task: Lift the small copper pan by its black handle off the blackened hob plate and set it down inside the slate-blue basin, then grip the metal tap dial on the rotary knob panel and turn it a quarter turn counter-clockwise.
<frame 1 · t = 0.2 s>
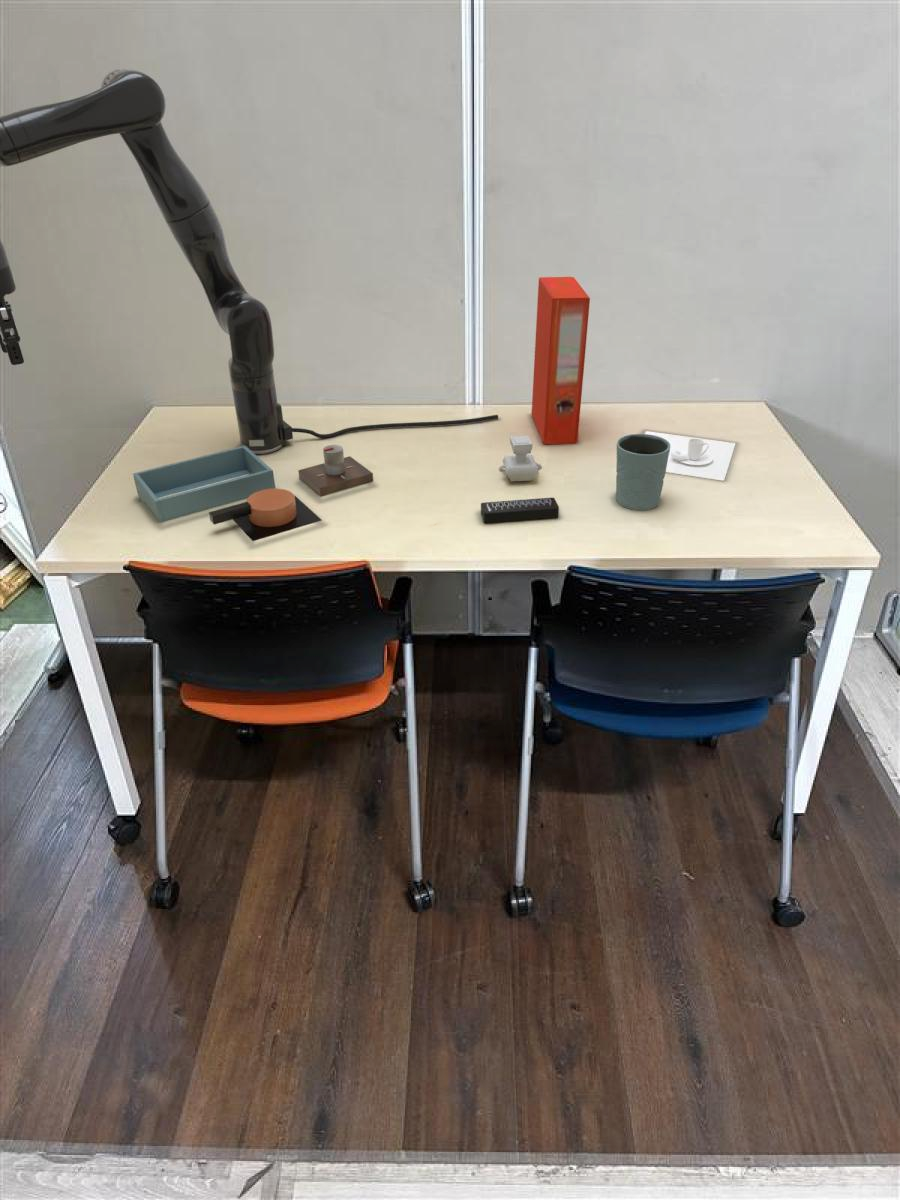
hand: (13, 357, 157), 29 cm above the table, tool pointing down, fingers open, 8 cm apart
pan: (273, 515, 164), point 1 cm above the table, touching hob
teacup and saucer: (682, 455, 187), on the table
green cup: (636, 500, 170), on the table
basin: (207, 497, 173), on the table
tap dial: (334, 459, 174), point 6 cm above the table, hinge at 0.0°
multiport hub: (519, 516, 165), on the table
file binder: (554, 429, 200), on the table
hob: (273, 521, 165), on the table
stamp: (520, 478, 179), on the table
rotary knob panel: (336, 484, 177), on the table
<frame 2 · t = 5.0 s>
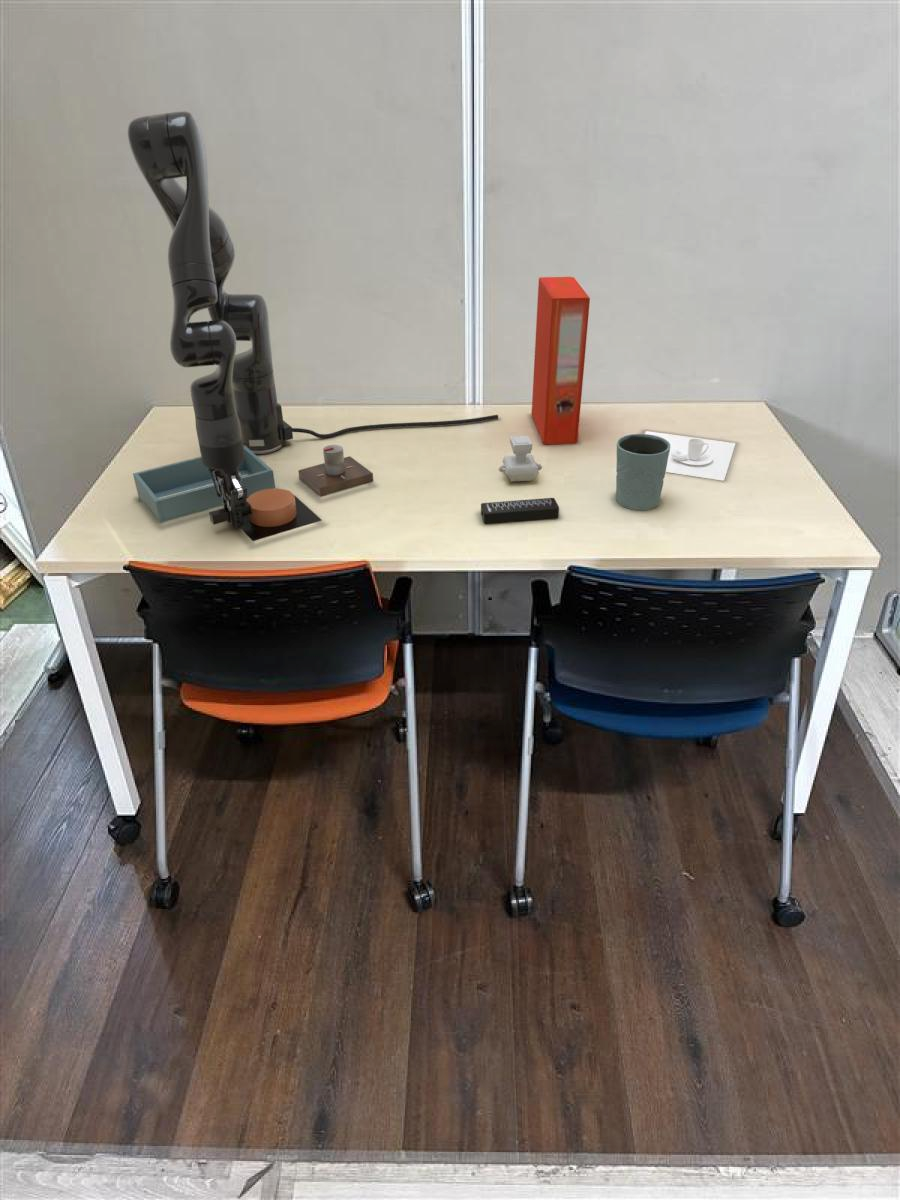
hand: (235, 523, 160), 2 cm above the table, tool pointing down, fingers closed on pan, 2 cm apart
pan: (272, 515, 164), point 1 cm above the table, touching gripper, hob
everything else where it was.
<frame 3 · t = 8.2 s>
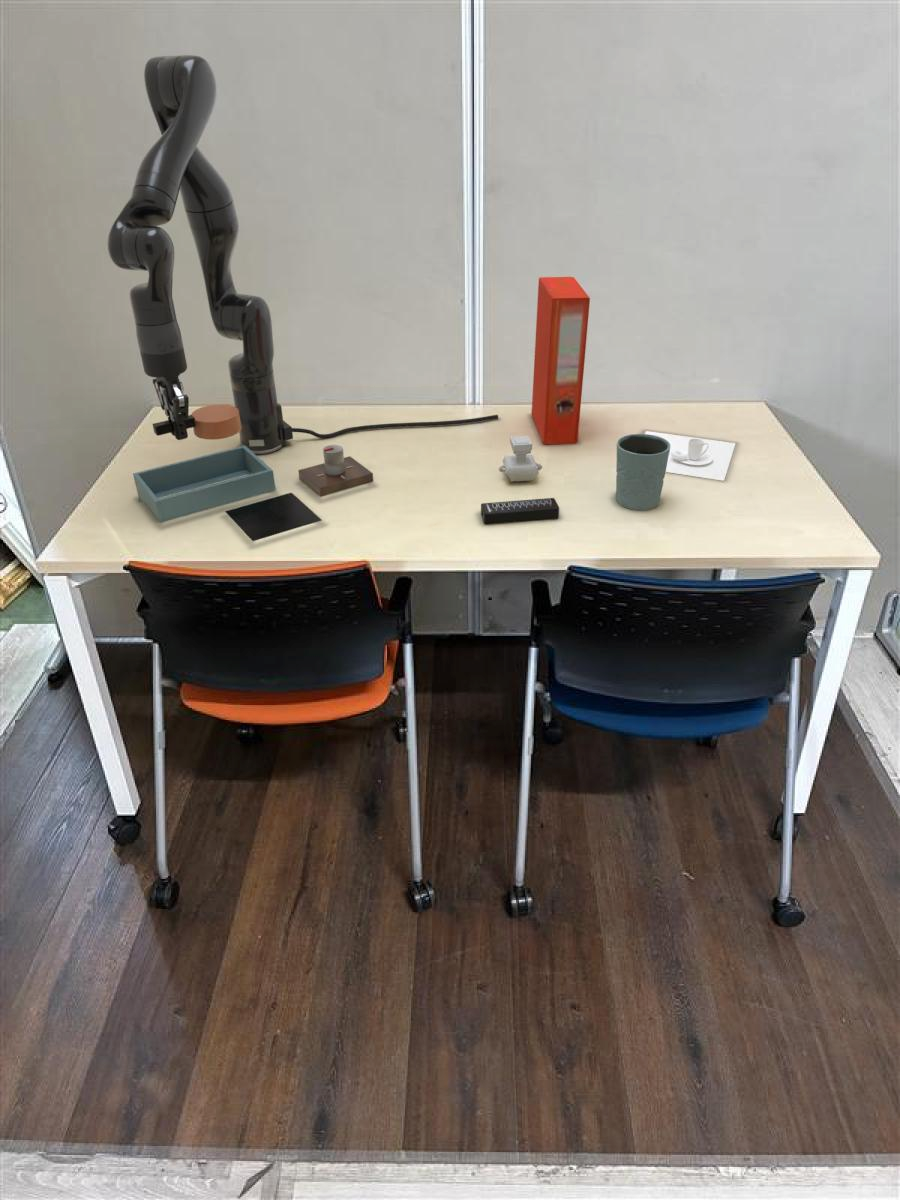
hand: (179, 436, 163), 15 cm above the table, tool pointing down, fingers closed on pan
pan: (217, 430, 166), point 14 cm above the table, touching gripper
everything else where it was.
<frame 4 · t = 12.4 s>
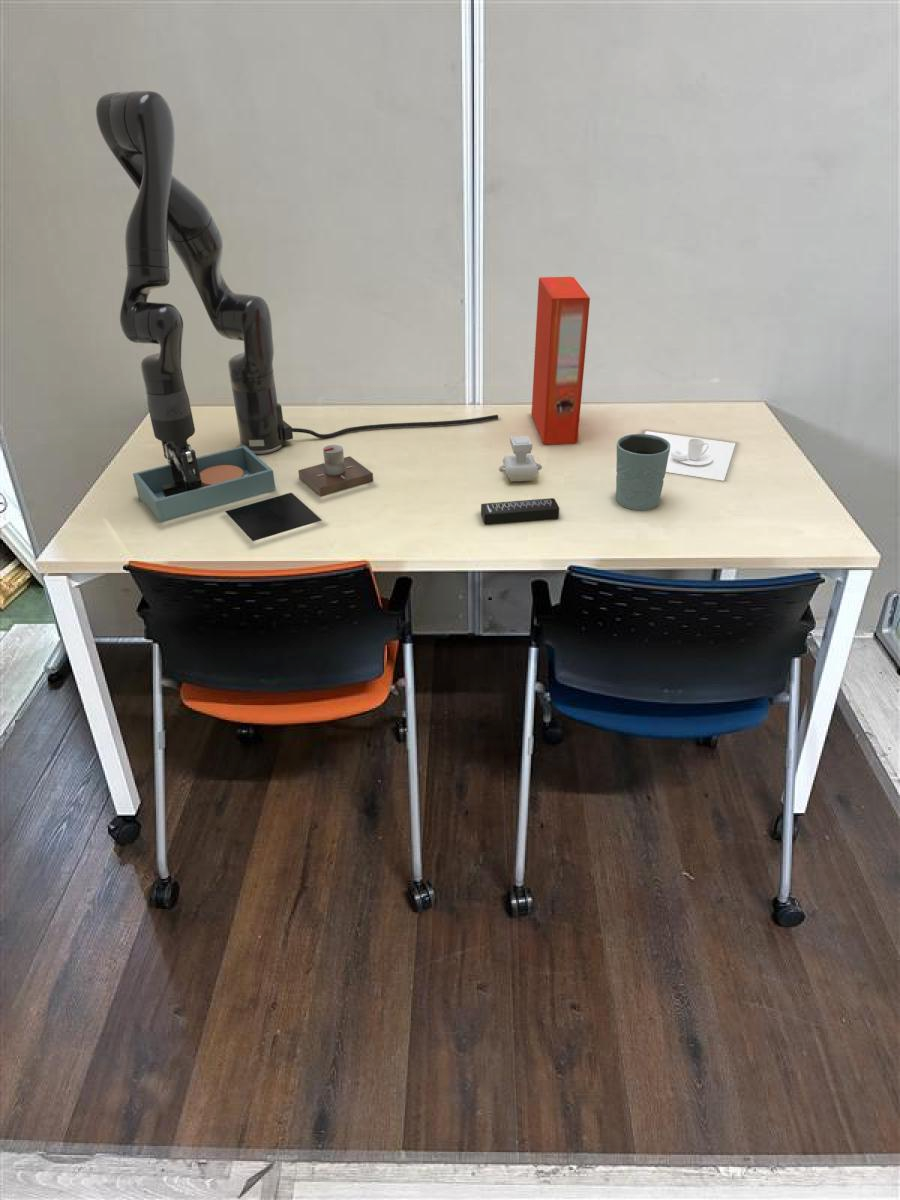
hand: (186, 489, 170), 3 cm above the table, tool pointing down, fingers open, 8 cm apart
pan: (223, 490, 175), point 1 cm above the table, touching basin
everything else where it was.
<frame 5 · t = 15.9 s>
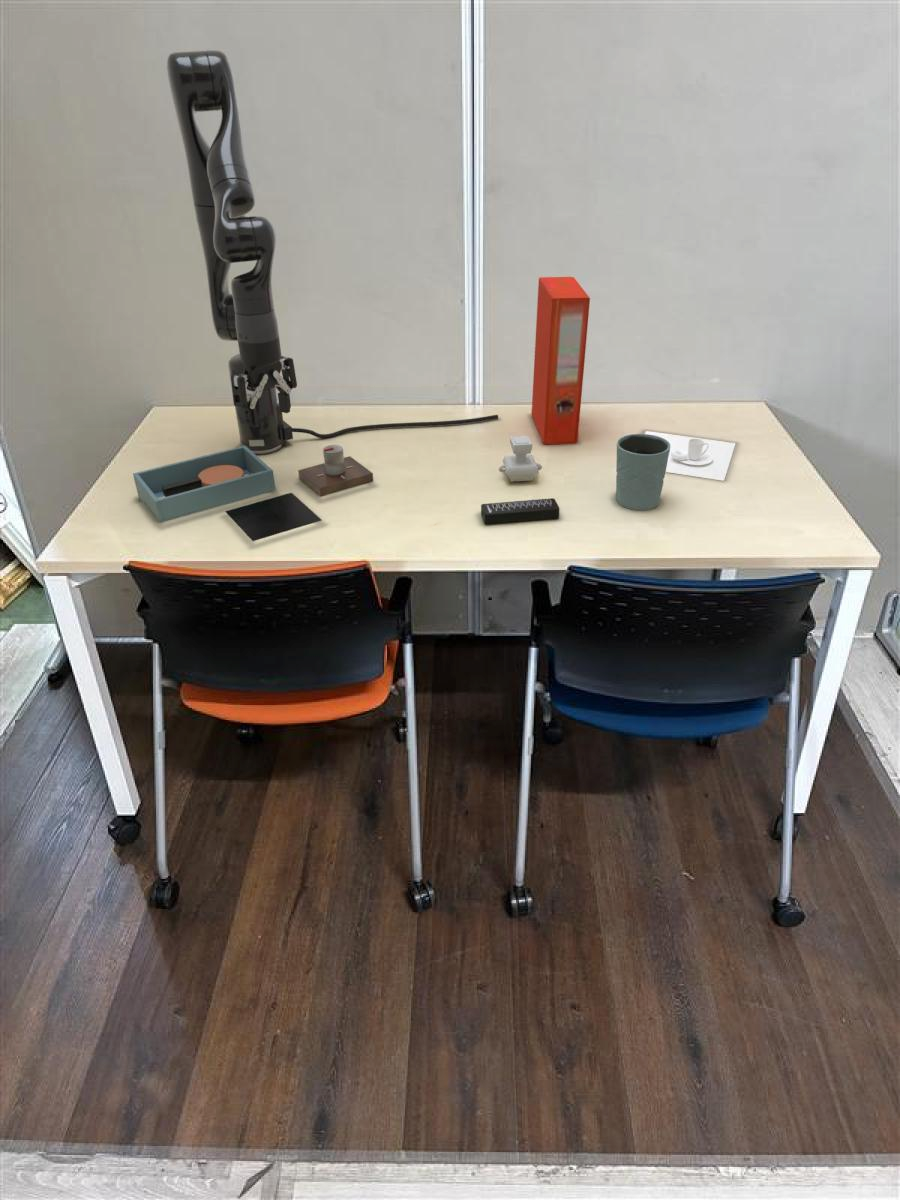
hand: (269, 418, 166), 16 cm above the table, tool pointing down, fingers open, 8 cm apart
nothing on the table moved.
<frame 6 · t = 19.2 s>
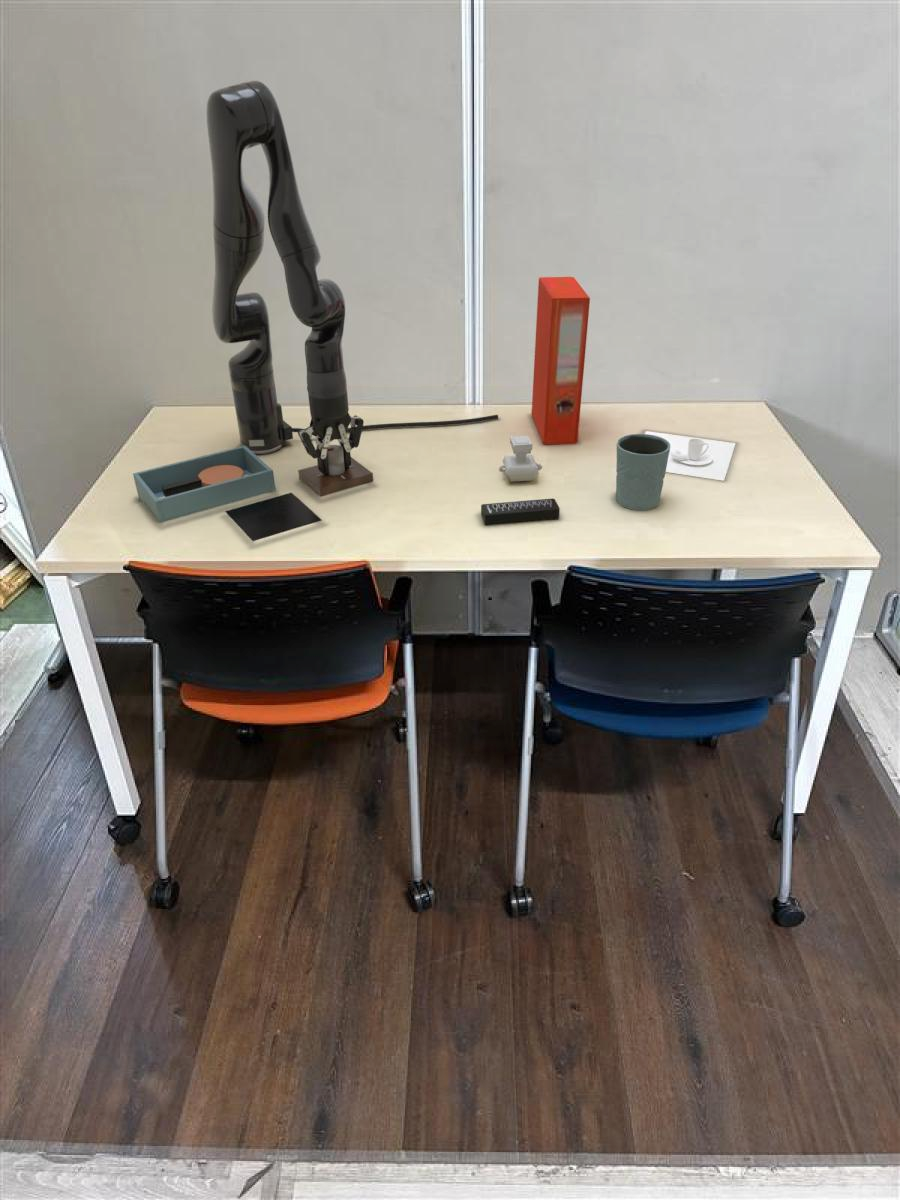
hand: (335, 470, 175), 3 cm above the table, tool pointing down, fingers closed on tap dial, 4 cm apart
tap dial: (334, 459, 174), point 6 cm above the table, hinge at -0.5°, touching gripper
everything else where it was.
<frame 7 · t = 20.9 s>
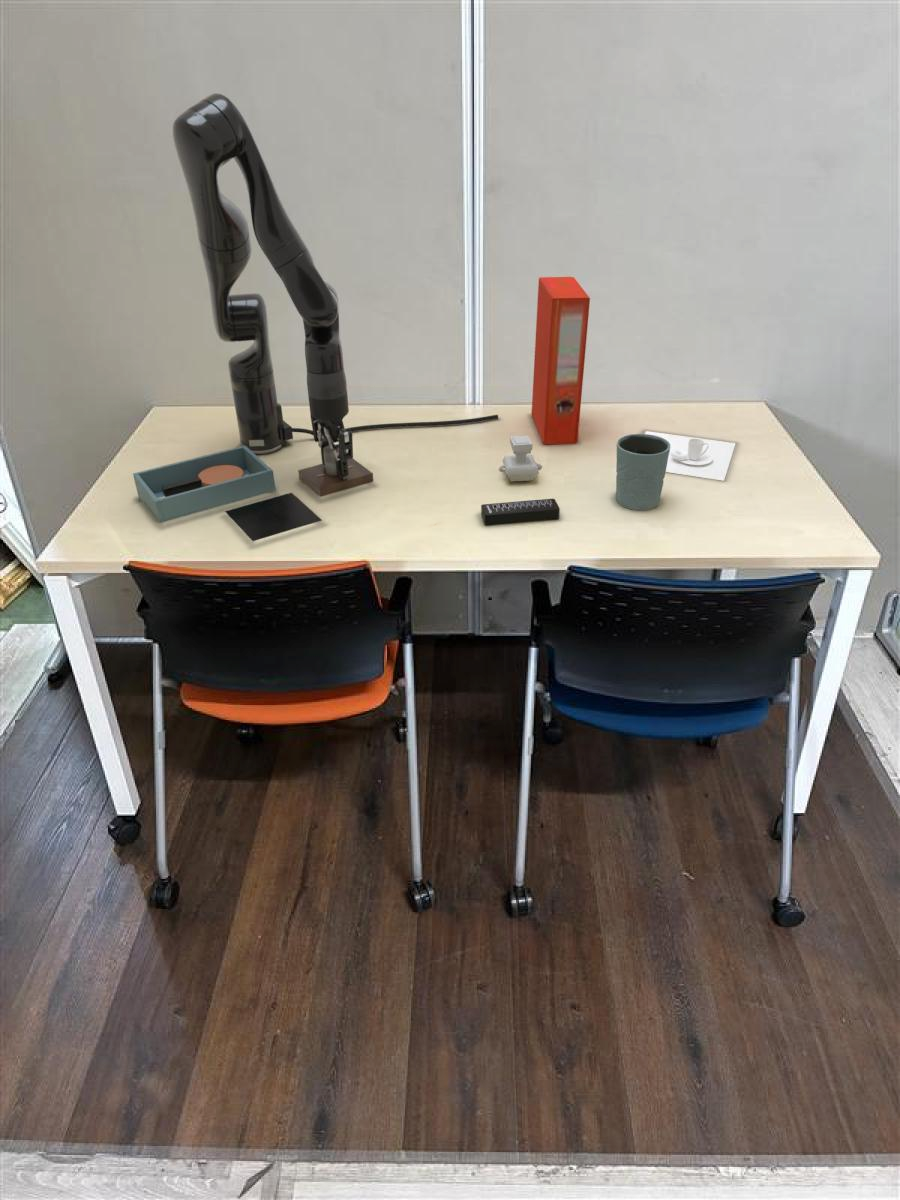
hand: (335, 469, 175), 3 cm above the table, tool pointing down, fingers open, 6 cm apart
tap dial: (334, 459, 174), point 6 cm above the table, hinge at 91.1°
everything else where it was.
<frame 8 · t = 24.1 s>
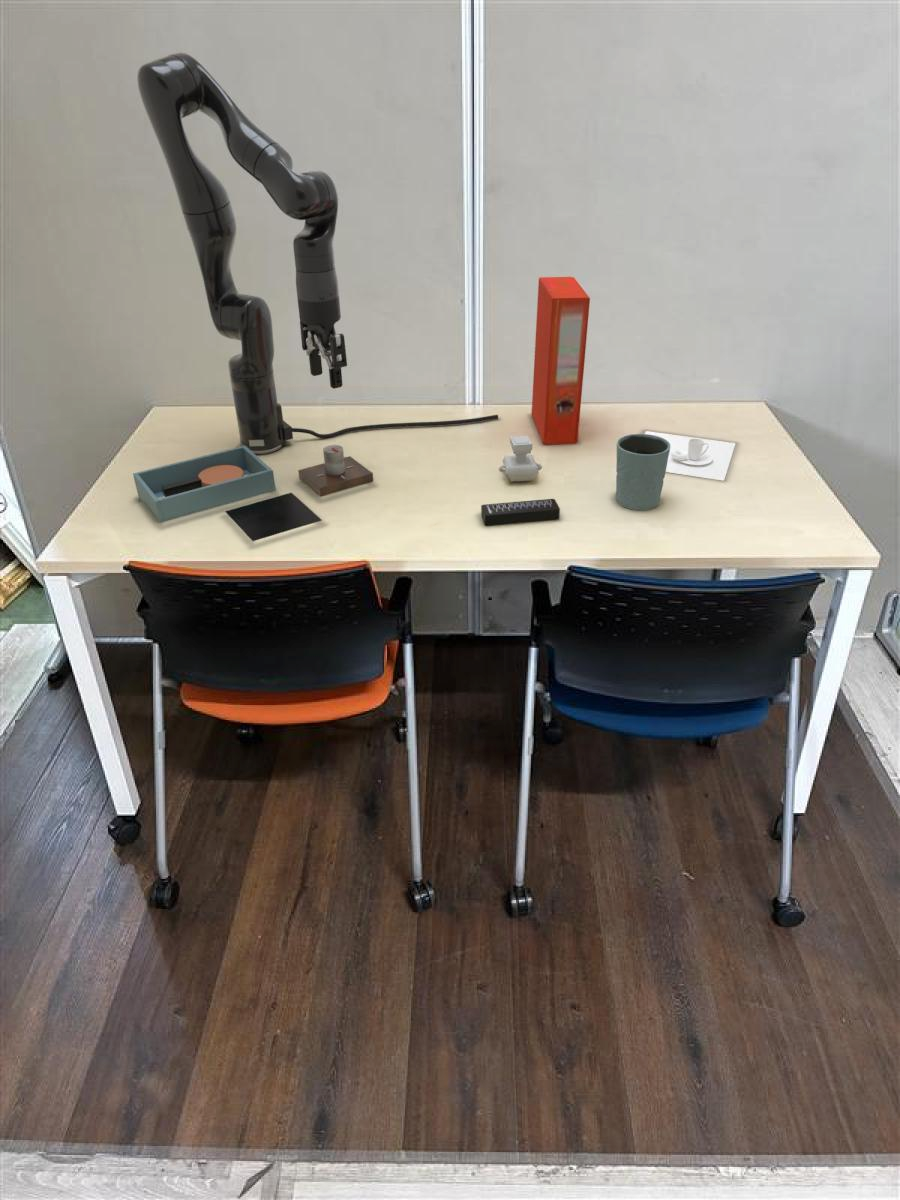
hand: (326, 380, 165), 22 cm above the table, tool pointing down, fingers open, 8 cm apart
nothing on the table moved.
at the end: pan inside the target area in the basin (2.4 cm from its centre), point 0.6 cm above the basin's base; pan tilted 0°; tap dial at +91° (first picture: +0°) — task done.
